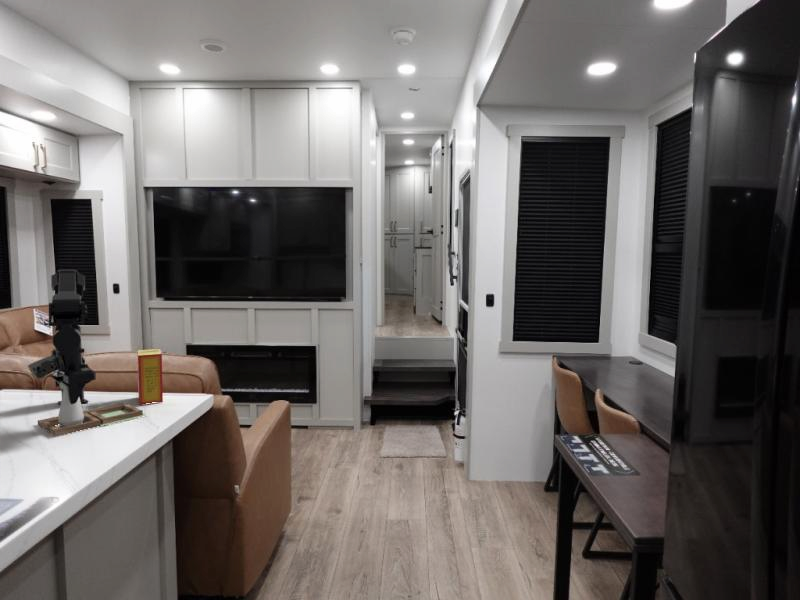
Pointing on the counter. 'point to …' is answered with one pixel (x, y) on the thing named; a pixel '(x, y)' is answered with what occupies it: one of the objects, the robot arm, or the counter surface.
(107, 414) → the card
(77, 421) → the salt shaker
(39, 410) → the counter surface
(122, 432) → the counter surface
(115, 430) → the counter surface
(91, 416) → the frame
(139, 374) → the baking soda box
